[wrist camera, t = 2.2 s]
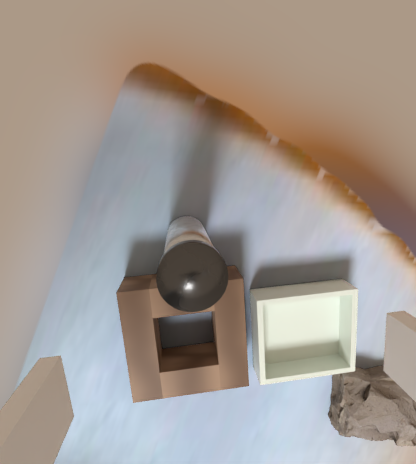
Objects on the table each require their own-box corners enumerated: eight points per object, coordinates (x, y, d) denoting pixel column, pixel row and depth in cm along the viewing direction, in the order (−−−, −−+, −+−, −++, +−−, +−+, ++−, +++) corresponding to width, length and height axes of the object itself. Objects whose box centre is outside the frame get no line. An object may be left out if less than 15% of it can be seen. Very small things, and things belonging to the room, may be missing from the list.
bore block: (138, 375, 32) (133, 402, 29) (124, 277, 30) (116, 292, 26) (240, 361, 33) (248, 385, 30) (235, 265, 31) (243, 278, 27)
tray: (253, 366, 34) (260, 385, 31) (249, 289, 32) (256, 301, 29) (340, 354, 35) (355, 371, 32) (341, 278, 33) (358, 288, 30)
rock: (428, 370, 37) (457, 392, 33) (405, 428, 39) (430, 456, 35) (333, 357, 35) (352, 379, 31) (314, 418, 37) (329, 447, 33)
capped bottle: (167, 256, 30) (160, 316, 17) (163, 215, 29) (152, 247, 16) (208, 252, 30) (230, 307, 18) (205, 212, 29) (226, 240, 17)
